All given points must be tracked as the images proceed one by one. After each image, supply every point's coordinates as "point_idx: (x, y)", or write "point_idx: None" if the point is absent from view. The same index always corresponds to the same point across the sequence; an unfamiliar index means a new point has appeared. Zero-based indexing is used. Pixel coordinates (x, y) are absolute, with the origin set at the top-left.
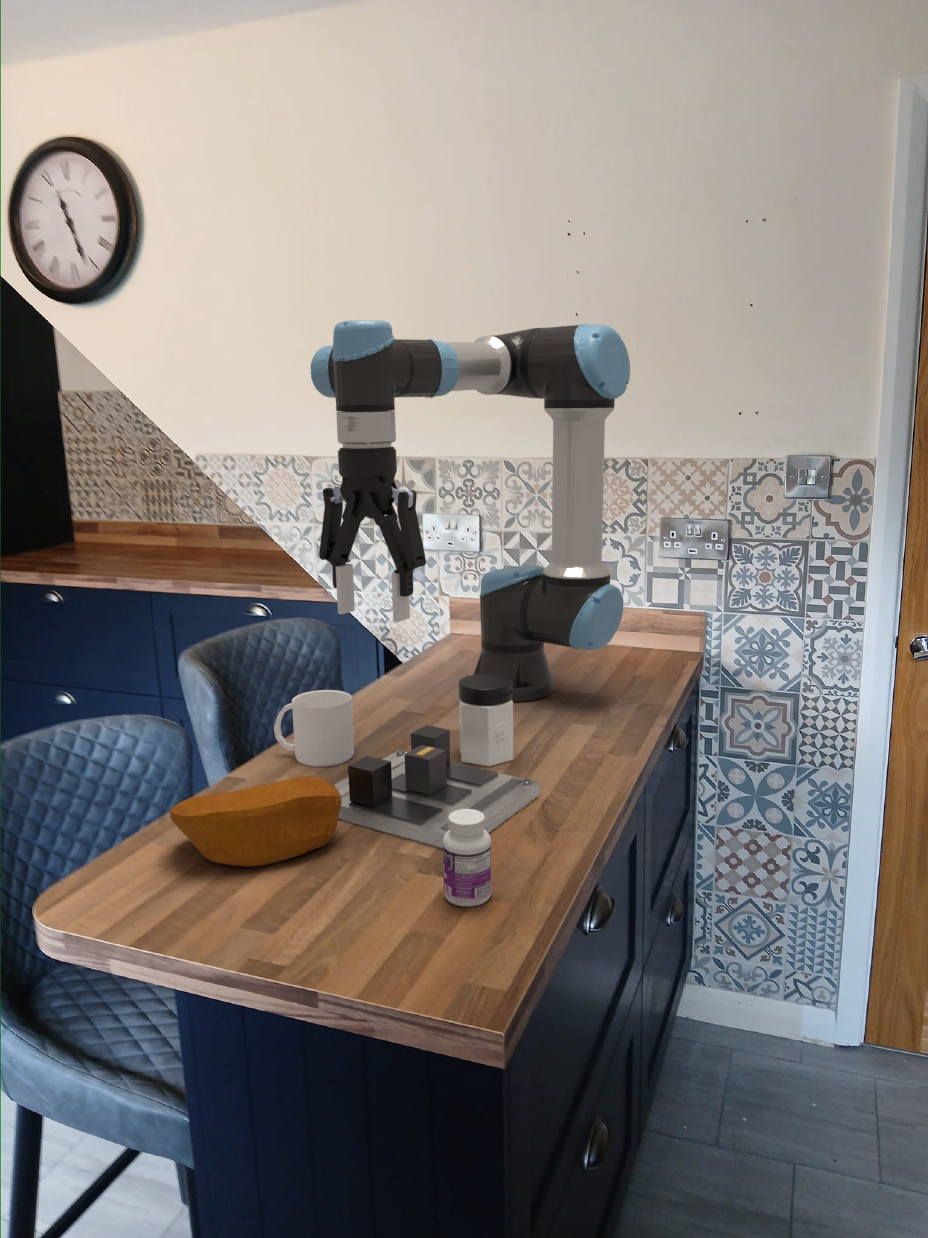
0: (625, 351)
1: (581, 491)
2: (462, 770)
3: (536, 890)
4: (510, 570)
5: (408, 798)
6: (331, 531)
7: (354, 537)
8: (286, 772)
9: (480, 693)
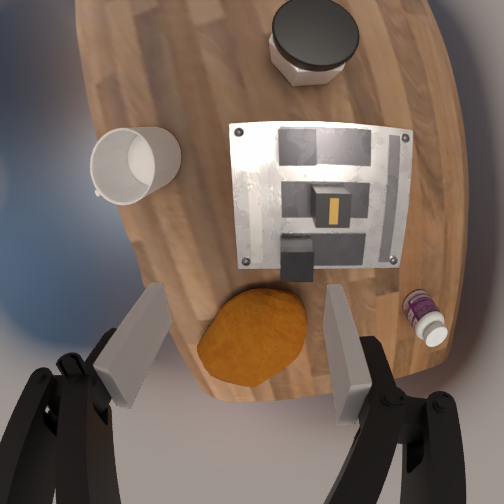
0: None
1: None
2: (335, 141)
3: (448, 275)
4: None
5: None
6: (49, 469)
7: (90, 460)
8: (154, 210)
9: (334, 66)
